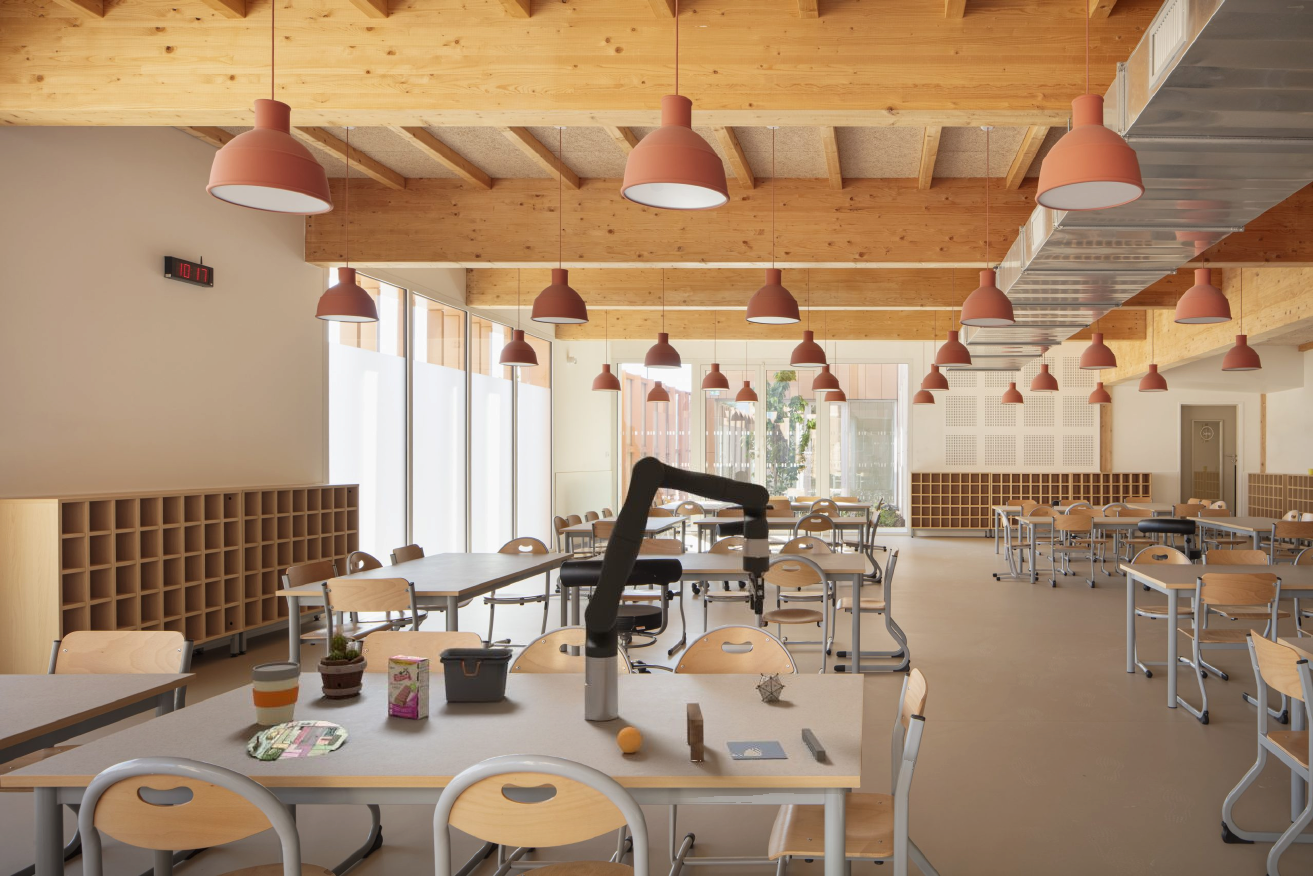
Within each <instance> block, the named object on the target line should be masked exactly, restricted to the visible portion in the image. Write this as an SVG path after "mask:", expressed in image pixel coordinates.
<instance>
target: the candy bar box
mask: <svg viewBox="0 0 1313 876" xmlns="http://www.w3.org/2000/svg"><path fill="white" fill-rule="evenodd" d="M387 680H388V681H387V682H388V685H387V687H388V690H387V691H388V695H387V698H388V699H387V700H388V701H387V702H388V703H387V708H388V709H387V712H388V713H387V715H388V716H393V717H400V718H404V719H405V718H407V719H413V720H421V719H423V718H427V717H428V716H429V715H430V658H429V657H420V656H412V655H403V654H398V655H395V656H394V655H393V656H390V657H388V678H387Z"/></svg>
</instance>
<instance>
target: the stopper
mask: <svg viewBox="0 0 1313 876" xmlns="http://www.w3.org/2000/svg"><path fill="white" fill-rule="evenodd" d="M801 740H802V741H803V743H804V742H805V743H806V744H805V743H804V744H805V745H807V746H808V747H807V746H806V747H807V749H808V748H809V749H810V750H809V749H808V750H809V752H810V751H811V752H812V753H811V752H810V753H811V755H812V754H813V755H814V756H813V755H812V756H813V758H814V757H815V758H814V759H815V761H816V760H817V761H825V762H826V750H825V748H824V747H823V746H822V744H821V743H820V741H819V740H818V739H817V737H816V735H815V734H814V733H813V731H812V729H810V728H801ZM817 761H816V762H817Z"/></svg>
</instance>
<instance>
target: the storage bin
mask: <svg viewBox="0 0 1313 876" xmlns="http://www.w3.org/2000/svg"><path fill="white" fill-rule="evenodd" d="M513 652H514V649H513V648H512V649H511V648H485V647H484V648H480V647H479V648H478V647H476V648H475V647H473V648H472V647H467V648H466V647H453V648H452V647H451V648H446V649H444V650H443V651H442V652H441V653H440V654H438V656H439V657H440V659H439V663H441V664H443V674H444V676H443V677H444V689H445V700H446V701H447V702H450V703H455V702H456V703H457V702H458V703H459V702H461V703H462V702H463V703H464V702H465V703H466V702H469V703H470V702H472V703H473V702H475V703H476V702H477V703H478V702H479V703H482V702H483V703H487V702H488V703H491V702H492V703H497V702H501V701H502V699H503V698H504V696H505V694H506V689H507V676H508V669H509V668H508V667H509V662H510V660H511V659H512V658H513Z"/></svg>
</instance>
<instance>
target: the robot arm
mask: <svg viewBox="0 0 1313 876" xmlns="http://www.w3.org/2000/svg"><path fill="white" fill-rule="evenodd" d="M632 466H633V467H632V470H631V477H630V481H629V486H628V491H627V493H626V498H625V499H624V500H625V501H624V503H623V505H622V507H621V509H620V511H619V513H618V515H617V518H616V520H615V523H614V525H613V527H612V530H611V532H610V535H609V538H608V541H607V544H606V549H605V552H604V555H603V561H602V564H601V569H600V574H599V579H598V582H597V585H596V588H595V590H594V592H593V594H592V597H591V598H590V600H589V602H588V603H587V605H586V608H585V610H584V621H585V641H584V642H585V643H584V657H585V658H584V663H585V664H584V666H585V667H584V683H585V684H584V720H589V721H599V722H600V721H604V722H605V721H611V720H614V719H617V718H618V717H619V658H618V657H619V651H618V650H619V608H620V603H621V599H622V596H623V592H624V588H625V586H626V583H627V581H628V579H629V577H630V575H631V574H632V571H633V568H634V567H635V563H636V561H637V559H638V556H639V553H640V551H641V547H642V544H643V541H644V537H645V533H646V528H647V525H648V519H649V515H650V510H651V507H652V504H653V501H654V499H655V497H656V494H657V492H658V491H659V490H658V489H669V490H675V491H679V492H684V493H688V494H691V495H695V496H697V497H701V498H705V499H708V500H712V501H718V502H723V503H728V504H729V503H730V504H731V503H732V504H735V505H737V506H742V510H743V511H742V513H743V543H742V570H743V572H745V573H746V572H747V573H748V579H747V580H748V591H747V592H748V595H749V604H750V605H749V608H750V610H751V611H754V615H756V616H759V615H763V613H764V609H763V607H764V604H763V602H764V600H765V598H766V596H765V577H763V575H762V573H768V572H769V571H770V543H769V523H768V519H767V505H768V503H769V502H770V492H769V490H768V489H767V488H766V487H765V486H763V485H761V484H758V483H752V482H745V481H739V480H736V479H733V478H729V477H726V476H721V475H717V474H712V473H706V472H705V473H704V472H699V471H691V470H686V469H683V468H679V467H675V466H672V465H670V464H667V463H664V462H662V461H660V460H659V458H657V457H655V456H651V455H646V456H643V457H640V458H639V459H637V460H636V461H635V462H634V464H633V465H632Z"/></svg>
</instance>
